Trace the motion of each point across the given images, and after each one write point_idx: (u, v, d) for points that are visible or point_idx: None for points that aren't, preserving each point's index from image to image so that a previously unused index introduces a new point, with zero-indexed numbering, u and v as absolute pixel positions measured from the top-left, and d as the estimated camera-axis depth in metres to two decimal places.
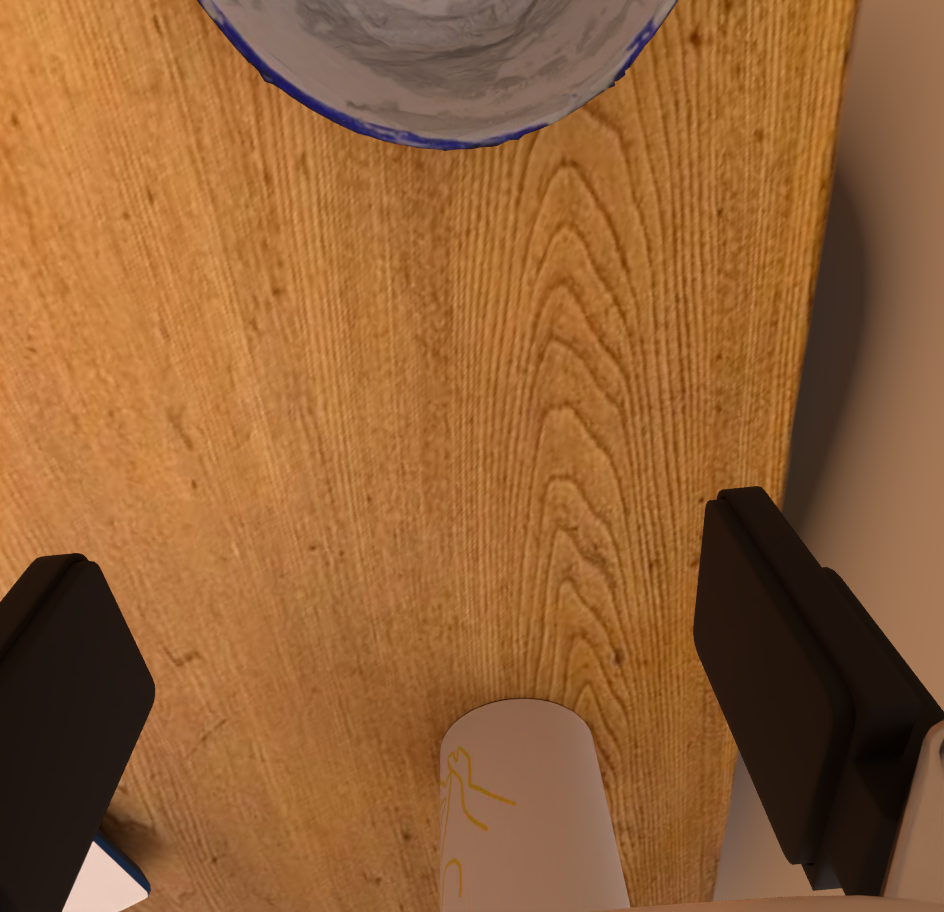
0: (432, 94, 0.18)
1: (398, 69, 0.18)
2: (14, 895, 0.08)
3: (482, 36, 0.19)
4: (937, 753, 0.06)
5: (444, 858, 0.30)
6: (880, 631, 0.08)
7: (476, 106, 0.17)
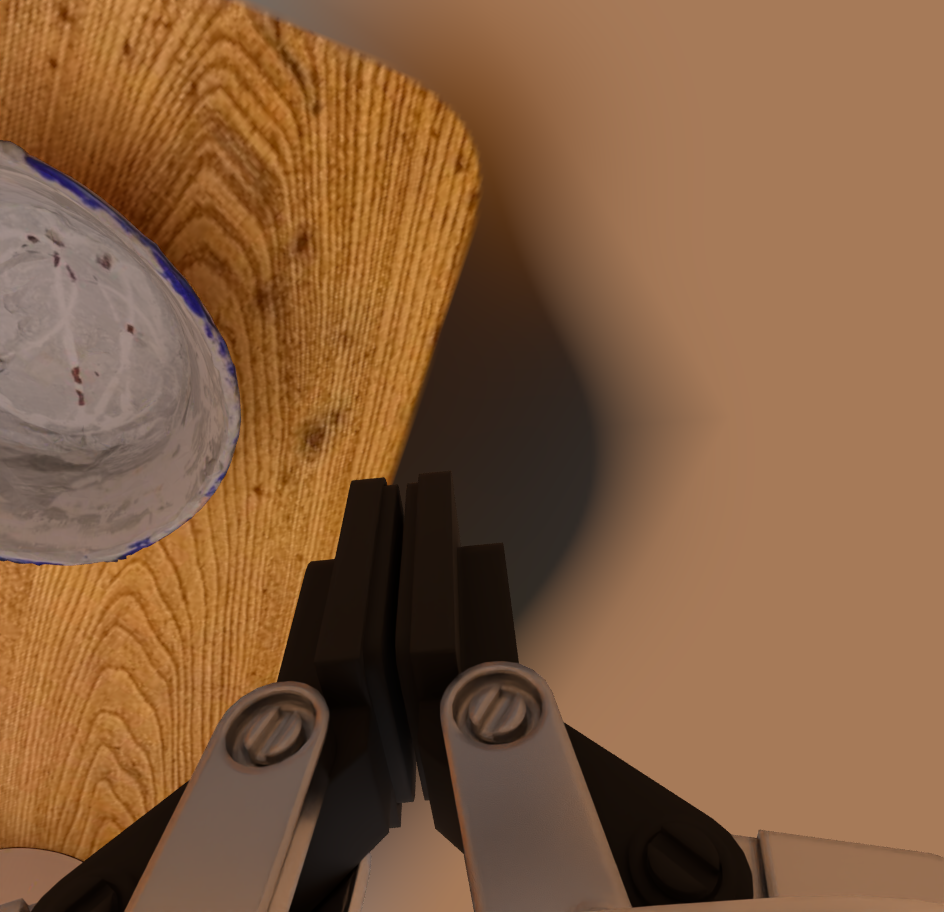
0: None
1: None
2: (404, 761, 0.09)
3: (70, 451, 0.24)
4: (455, 690, 0.07)
5: None
6: (508, 596, 0.09)
7: (18, 526, 0.22)
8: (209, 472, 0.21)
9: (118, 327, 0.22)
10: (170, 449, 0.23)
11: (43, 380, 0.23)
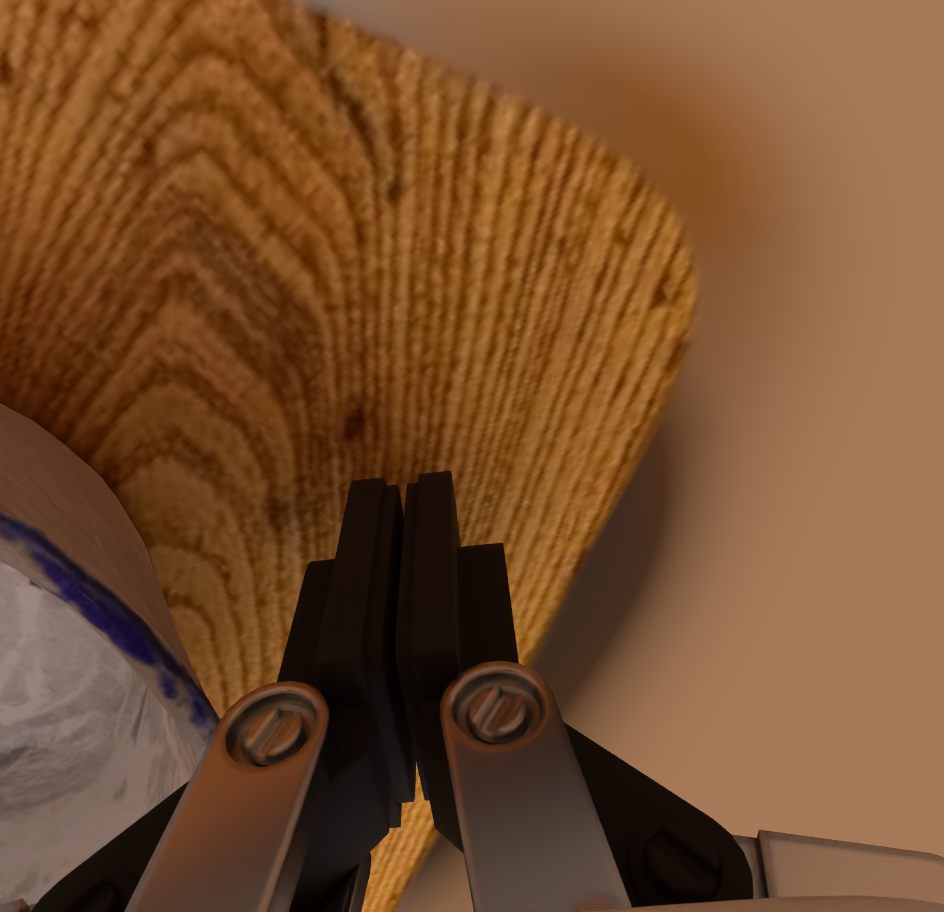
0: None
1: None
2: (404, 761, 0.09)
3: None
4: (455, 690, 0.07)
5: None
6: (508, 596, 0.09)
7: None
8: None
9: (13, 579, 0.12)
10: (111, 781, 0.13)
11: None
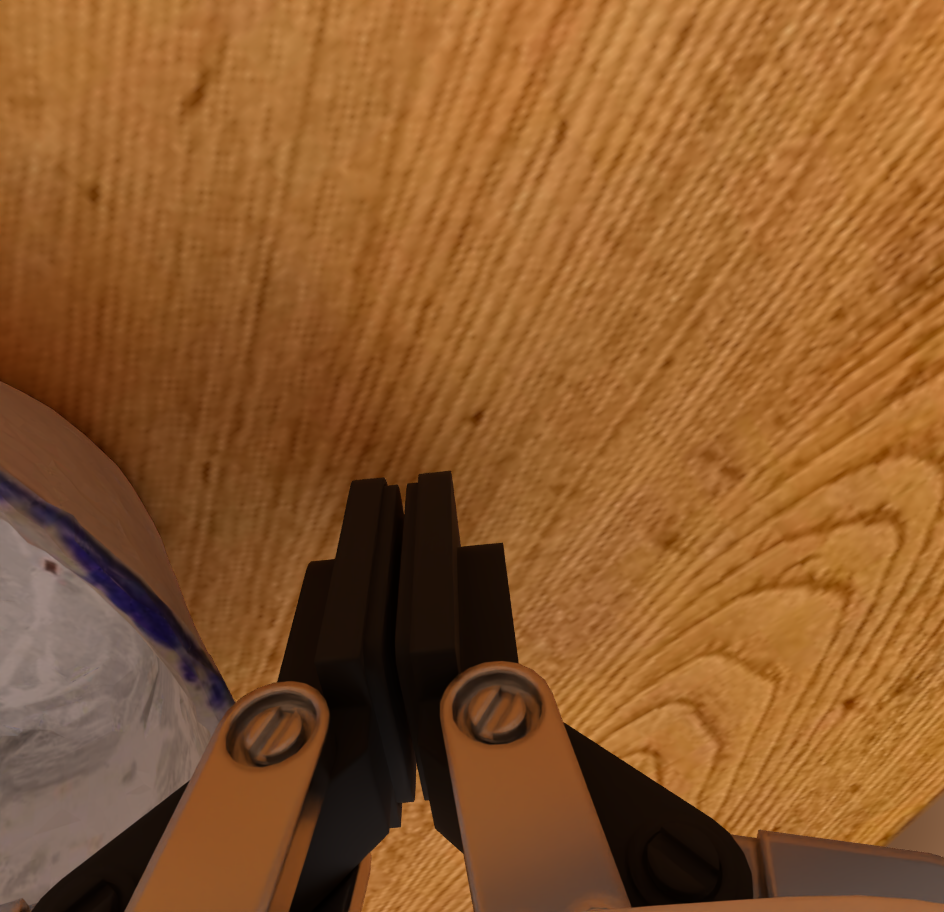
0: None
1: None
2: (404, 761, 0.09)
3: None
4: (455, 689, 0.07)
5: None
6: (508, 596, 0.09)
7: None
8: None
9: (28, 564, 0.12)
10: (120, 764, 0.13)
11: None
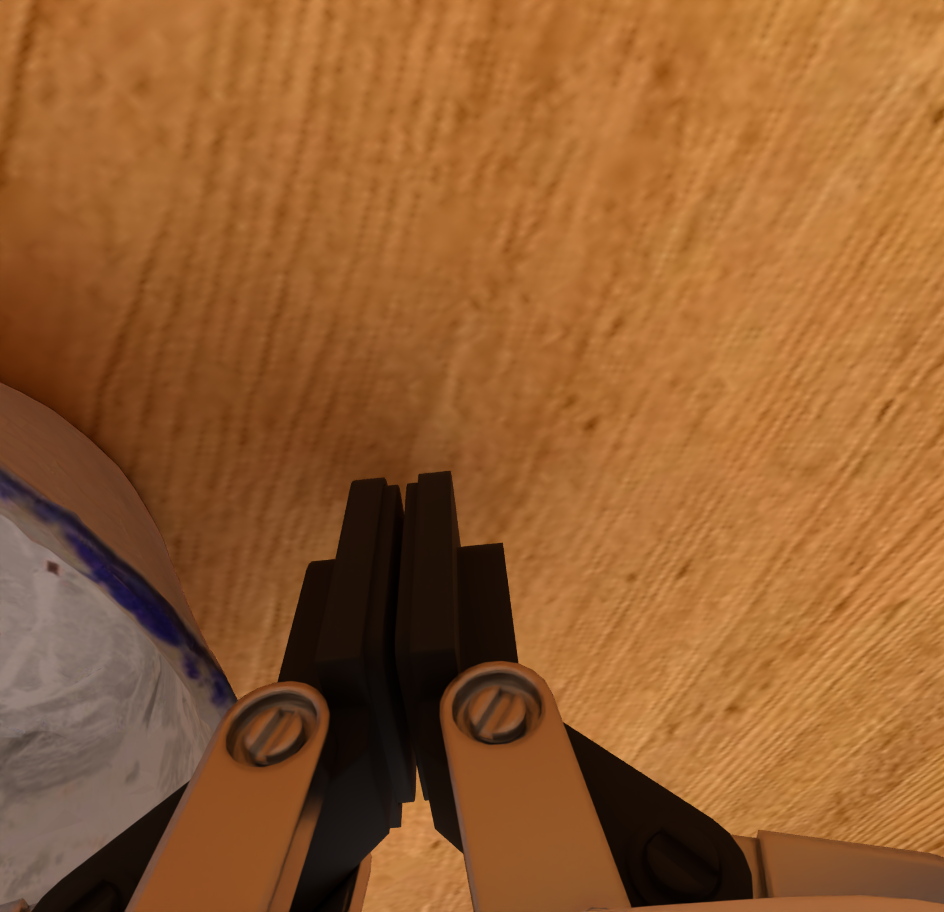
0: None
1: None
2: (404, 761, 0.09)
3: None
4: (454, 690, 0.07)
5: None
6: (508, 596, 0.09)
7: None
8: None
9: (31, 565, 0.12)
10: (123, 764, 0.13)
11: None
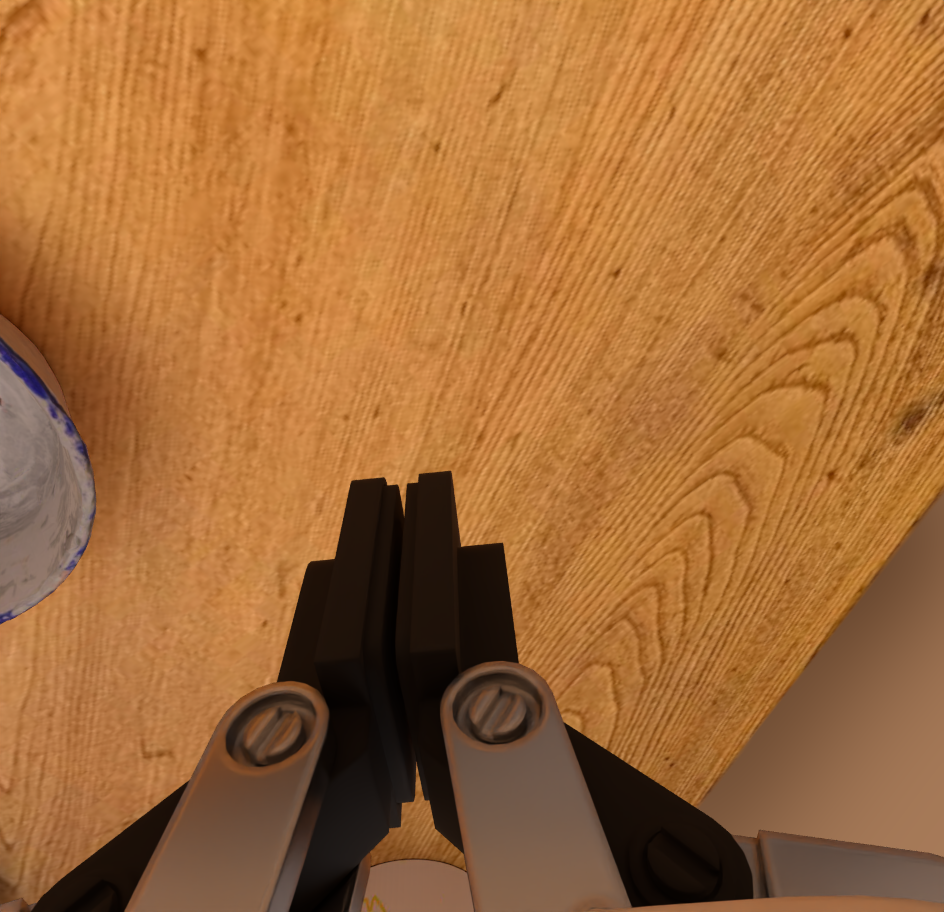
0: None
1: None
2: (404, 761, 0.09)
3: None
4: (455, 689, 0.07)
5: None
6: (508, 596, 0.09)
7: None
8: (67, 547, 0.21)
9: None
10: (40, 519, 0.23)
11: None
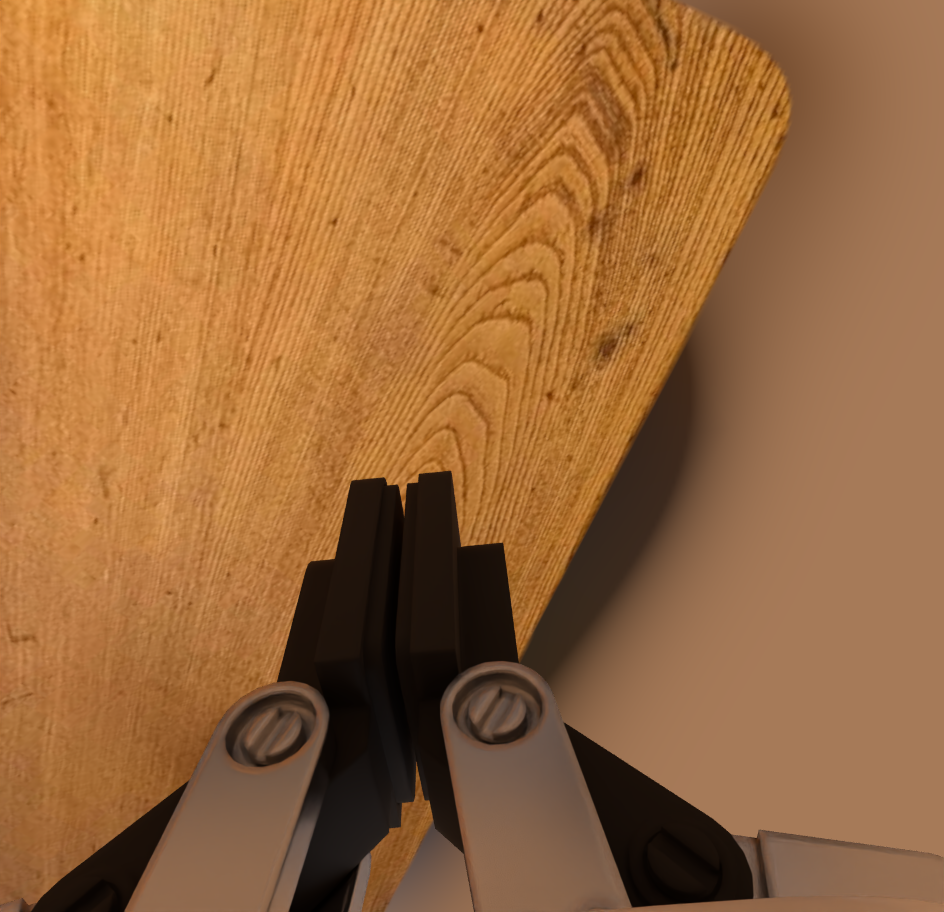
0: None
1: None
2: (403, 761, 0.09)
3: None
4: (455, 689, 0.07)
5: None
6: (508, 596, 0.09)
7: None
8: None
9: None
10: None
11: None
